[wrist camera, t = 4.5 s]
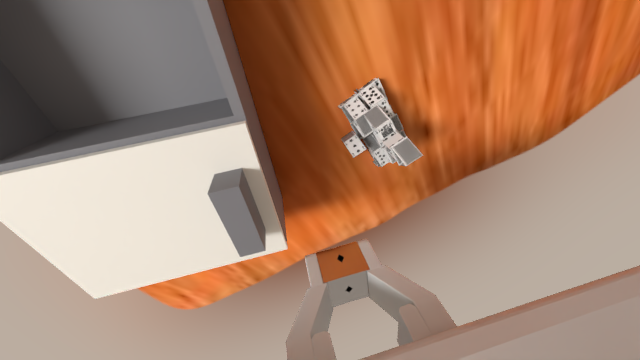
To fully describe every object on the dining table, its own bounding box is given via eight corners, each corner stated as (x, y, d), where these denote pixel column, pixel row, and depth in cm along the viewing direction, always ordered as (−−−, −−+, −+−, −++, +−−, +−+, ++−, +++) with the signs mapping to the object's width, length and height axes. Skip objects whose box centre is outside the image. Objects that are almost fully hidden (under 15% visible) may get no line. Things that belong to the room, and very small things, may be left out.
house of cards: (277, 120, 20) (283, 161, 14) (365, 55, 19) (416, 66, 12) (332, 188, 25) (355, 242, 18) (405, 140, 23) (457, 180, 17)
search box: (194, -94, 13) (148, -176, 8) (282, 197, 24) (286, 241, 19) (-94, -55, 12) (-366, -122, 7) (137, 232, 23) (101, 288, 18)
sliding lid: (245, 120, 13) (242, 137, 11) (287, 244, 18) (289, 271, 16) (-34, 179, 12) (-98, 210, 10) (98, 292, 17) (75, 328, 15)
